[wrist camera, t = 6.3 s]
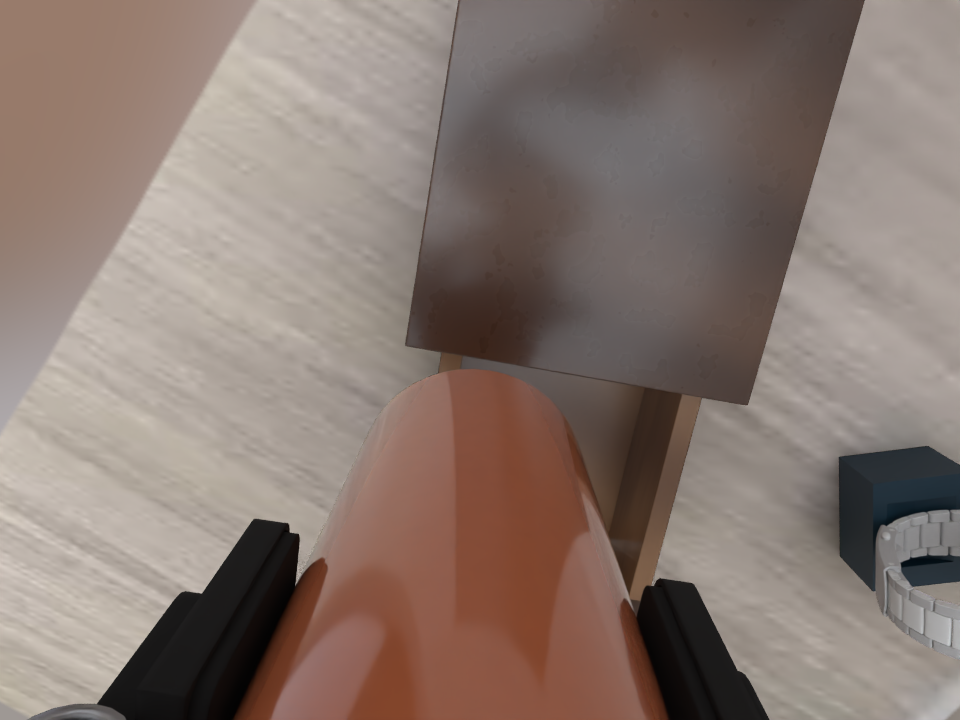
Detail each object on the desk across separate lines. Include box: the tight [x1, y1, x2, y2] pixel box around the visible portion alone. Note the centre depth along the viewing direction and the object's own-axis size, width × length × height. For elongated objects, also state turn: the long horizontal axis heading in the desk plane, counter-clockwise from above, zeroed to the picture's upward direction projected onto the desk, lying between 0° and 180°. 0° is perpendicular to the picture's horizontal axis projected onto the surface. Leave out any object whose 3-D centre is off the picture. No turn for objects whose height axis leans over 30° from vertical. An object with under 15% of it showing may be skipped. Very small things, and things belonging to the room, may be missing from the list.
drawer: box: [438, 352, 702, 617], centre depth 31 cm, size 18×11×6 cm, turn 170°
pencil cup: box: [232, 369, 670, 720], centre depth 11 cm, size 6×6×13 cm
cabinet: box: [405, 0, 865, 405], centre depth 27 cm, size 15×13×8 cm
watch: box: [839, 446, 960, 660], centre depth 29 cm, size 6×8×11 cm
